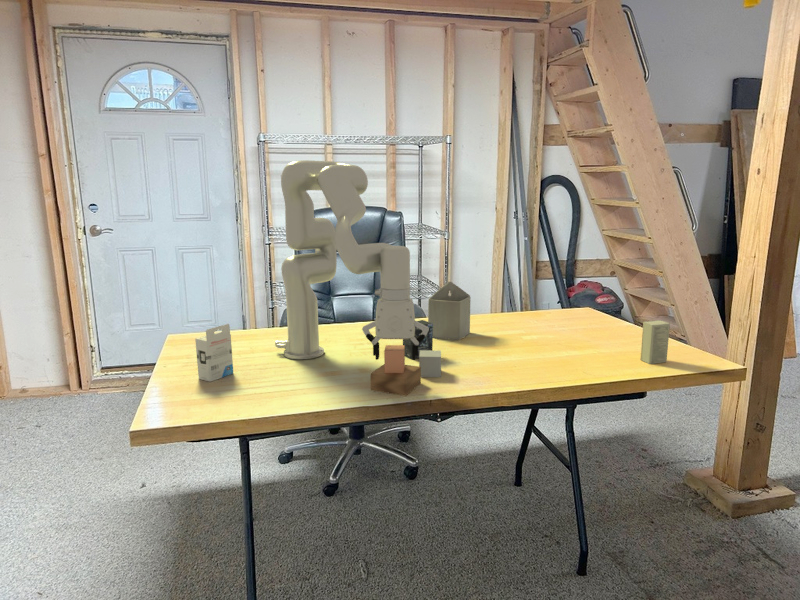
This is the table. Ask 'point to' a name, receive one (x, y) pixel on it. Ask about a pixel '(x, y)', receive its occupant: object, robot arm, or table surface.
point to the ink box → (214, 354)
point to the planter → (449, 312)
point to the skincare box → (655, 341)
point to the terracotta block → (394, 358)
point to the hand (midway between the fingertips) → (395, 358)
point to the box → (424, 344)
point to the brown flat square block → (396, 380)
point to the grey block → (430, 363)
